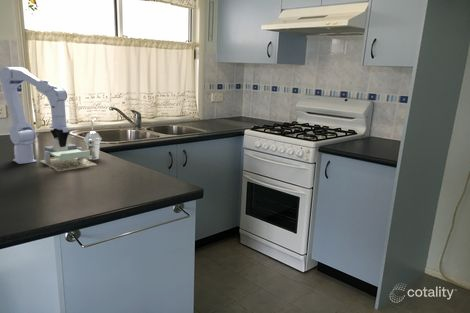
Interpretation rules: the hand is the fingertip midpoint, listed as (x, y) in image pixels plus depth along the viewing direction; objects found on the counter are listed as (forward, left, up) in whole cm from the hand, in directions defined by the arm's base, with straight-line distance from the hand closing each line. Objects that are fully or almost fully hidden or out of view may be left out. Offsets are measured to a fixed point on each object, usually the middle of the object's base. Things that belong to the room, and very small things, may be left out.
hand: (60, 145), depth 173 cm
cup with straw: (-7, +18, -10) cm, 22 cm away
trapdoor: (-5, +4, -7) cm, 9 cm away
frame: (-4, +4, -10) cm, 11 cm away
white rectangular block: (0, 0, -2) cm, 2 cm away
